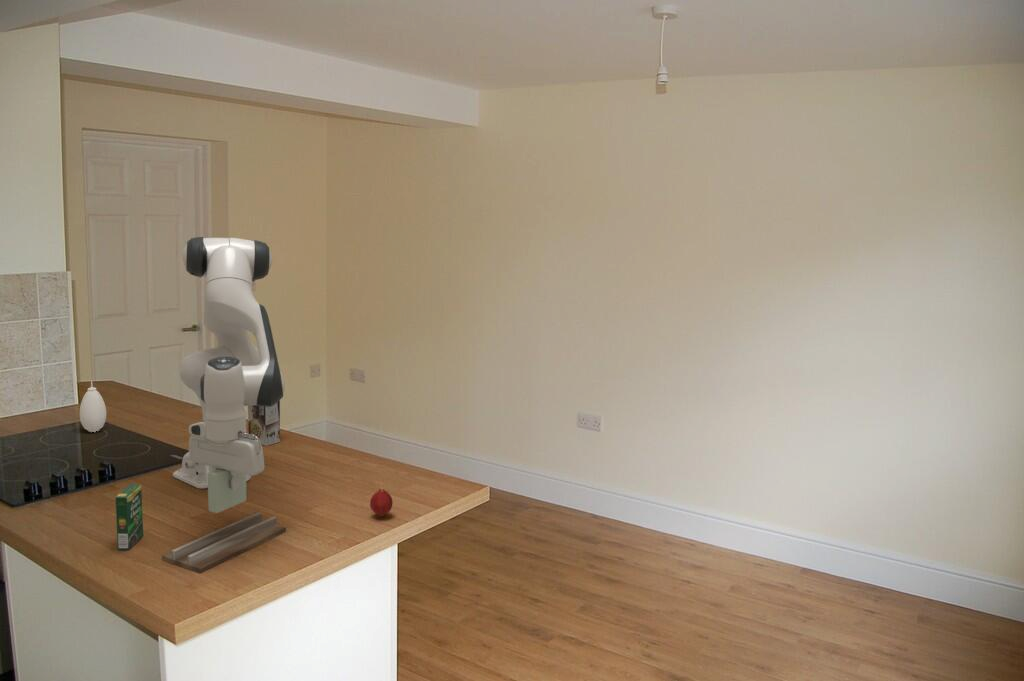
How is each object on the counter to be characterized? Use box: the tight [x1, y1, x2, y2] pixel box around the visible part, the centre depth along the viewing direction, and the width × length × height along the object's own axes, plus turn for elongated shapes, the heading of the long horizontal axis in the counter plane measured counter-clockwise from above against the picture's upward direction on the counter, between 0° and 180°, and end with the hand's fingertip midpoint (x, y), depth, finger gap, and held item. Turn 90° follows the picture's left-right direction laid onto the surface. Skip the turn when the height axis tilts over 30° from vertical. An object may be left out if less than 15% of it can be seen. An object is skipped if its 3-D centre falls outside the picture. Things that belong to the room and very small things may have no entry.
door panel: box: [207, 469, 248, 514], centre depth 175 cm, size 2×9×9 cm, turn 154°
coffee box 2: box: [115, 483, 144, 551], centre depth 175 cm, size 8×3×13 cm, turn 3°
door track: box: [161, 511, 287, 574], centre depth 177 cm, size 12×26×3 cm, turn 154°
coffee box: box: [247, 400, 281, 447], centre depth 255 cm, size 9×6×16 cm
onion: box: [369, 487, 393, 518], centre depth 197 cm, size 6×6×8 cm
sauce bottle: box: [79, 379, 107, 433], centre depth 257 cm, size 8×8×18 cm
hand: (227, 486), depth 175 cm, fingers closed on door panel, 2 cm apart
